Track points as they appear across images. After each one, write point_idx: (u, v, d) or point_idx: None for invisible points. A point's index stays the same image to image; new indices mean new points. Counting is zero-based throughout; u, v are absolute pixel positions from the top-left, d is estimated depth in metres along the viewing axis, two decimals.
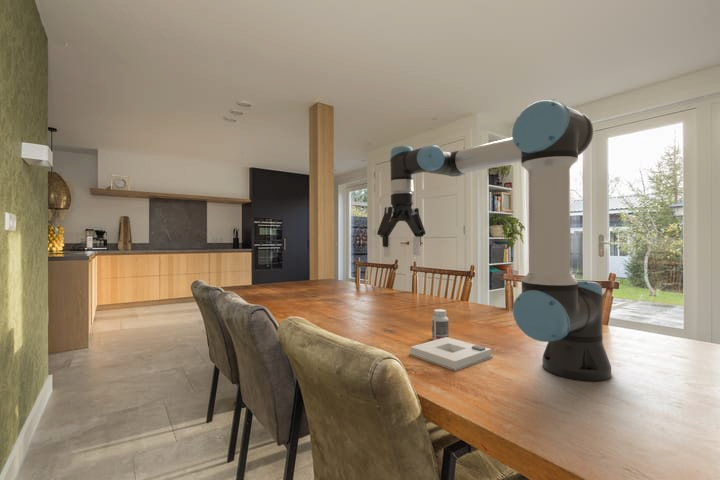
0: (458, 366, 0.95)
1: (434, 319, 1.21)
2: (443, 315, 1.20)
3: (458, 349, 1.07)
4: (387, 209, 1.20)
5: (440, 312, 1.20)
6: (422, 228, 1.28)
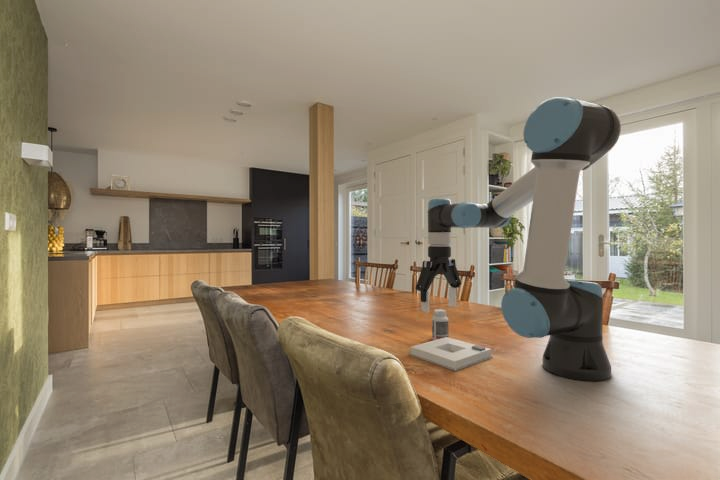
0: (458, 366, 0.95)
1: (434, 319, 1.21)
2: (443, 315, 1.20)
3: (458, 349, 1.07)
4: (425, 263, 1.18)
5: (440, 312, 1.20)
6: (458, 279, 1.27)
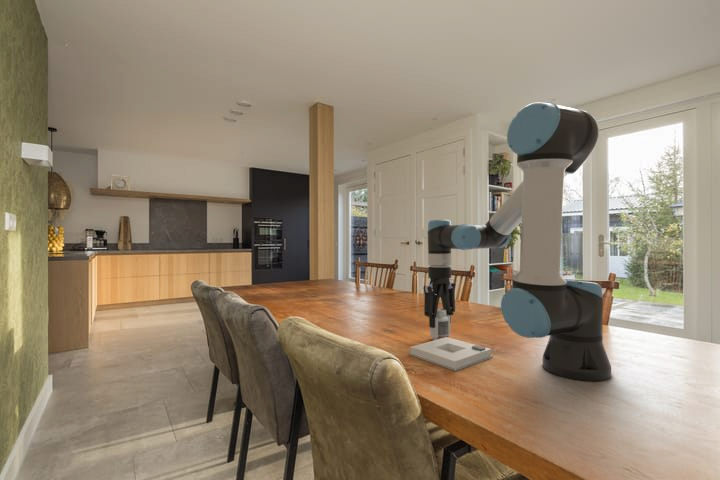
0: (458, 366, 0.95)
1: None
2: (443, 315, 1.20)
3: (458, 349, 1.07)
4: (427, 289, 1.18)
5: (440, 312, 1.20)
6: (453, 305, 1.25)
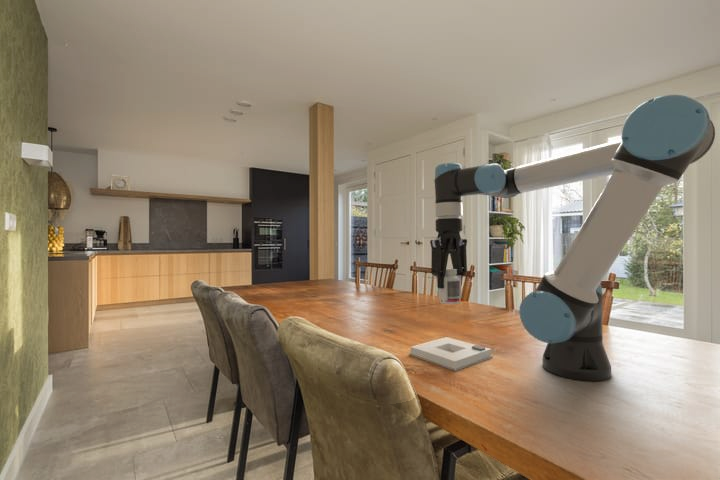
0: (458, 366, 0.95)
1: None
2: (453, 274, 1.04)
3: (458, 349, 1.07)
4: (434, 243, 1.01)
5: (449, 270, 1.04)
6: (465, 264, 1.08)
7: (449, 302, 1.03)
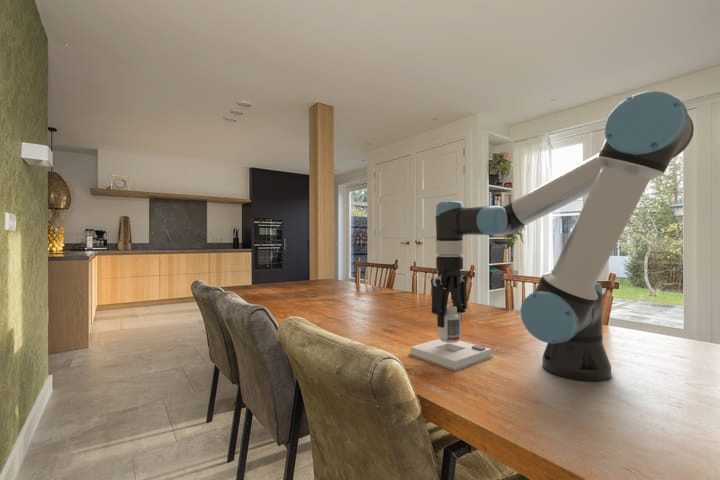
0: (458, 366, 0.95)
1: None
2: (453, 312, 1.04)
3: (458, 349, 1.07)
4: (434, 283, 1.01)
5: (450, 309, 1.03)
6: (465, 301, 1.08)
7: (449, 341, 1.03)
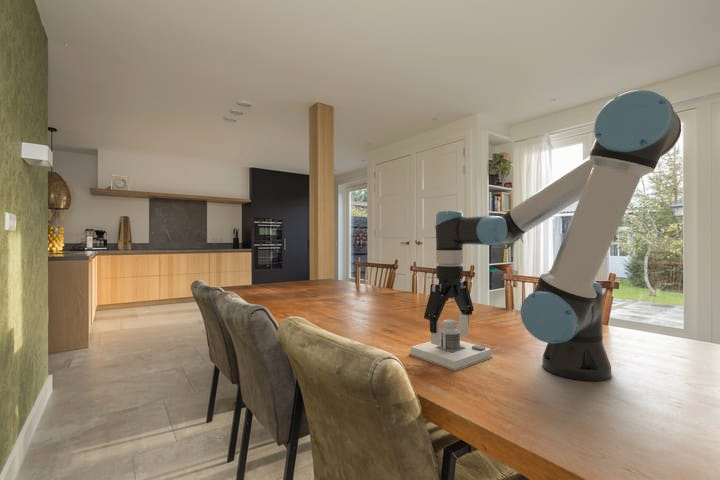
0: (458, 366, 0.95)
1: (443, 331, 1.04)
2: (454, 327, 1.03)
3: None
4: (434, 287, 1.01)
5: (450, 323, 1.03)
6: (470, 304, 1.09)
7: None
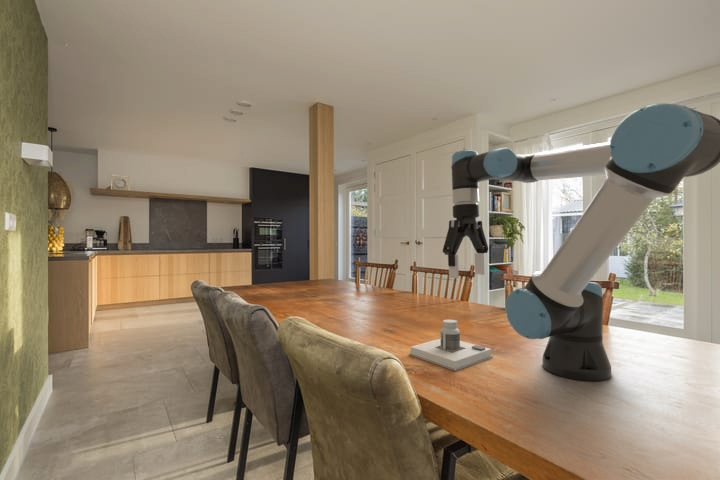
0: (458, 366, 0.95)
1: (443, 331, 1.04)
2: (454, 327, 1.03)
3: None
4: (453, 223, 1.04)
5: (450, 323, 1.03)
6: (485, 243, 1.13)
7: None
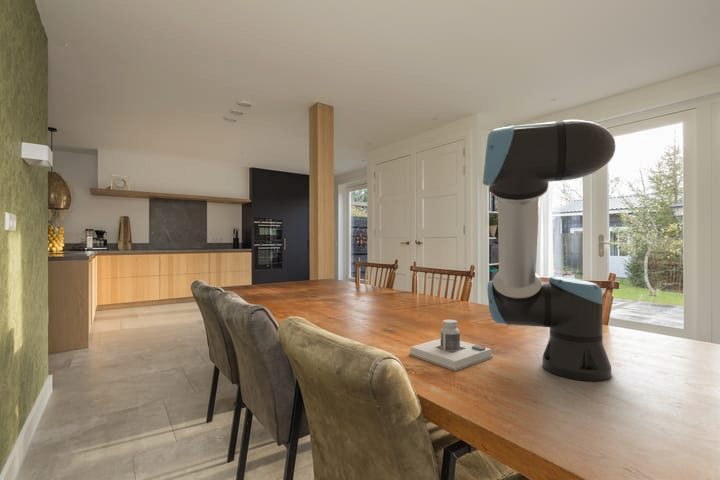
0: (458, 366, 0.95)
1: (443, 331, 1.04)
2: (454, 327, 1.03)
3: None
4: None
5: (450, 323, 1.03)
6: None
7: None
